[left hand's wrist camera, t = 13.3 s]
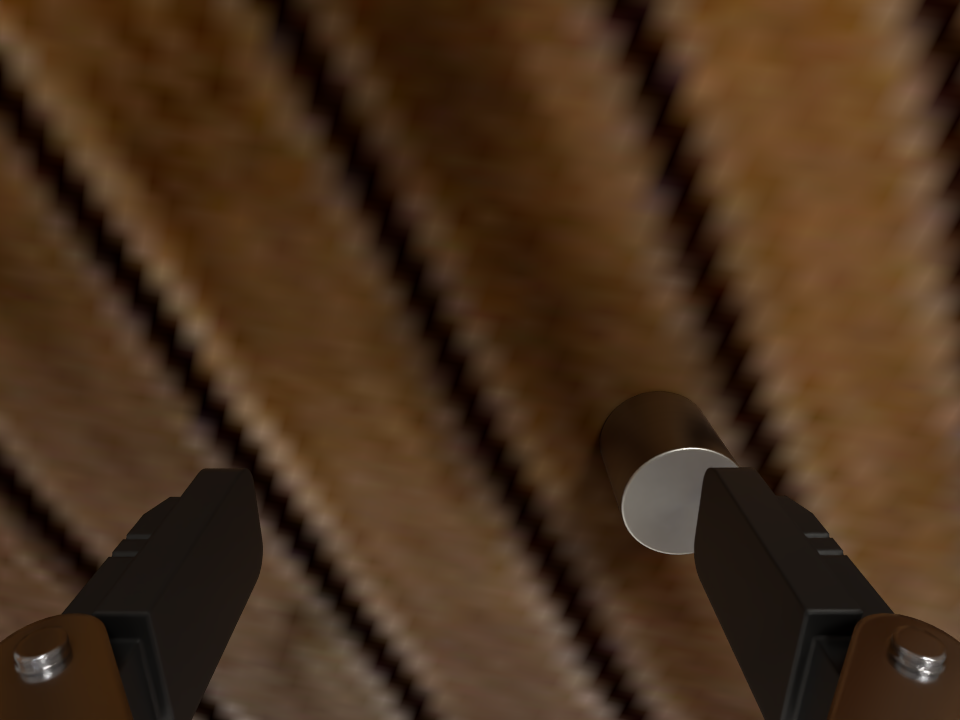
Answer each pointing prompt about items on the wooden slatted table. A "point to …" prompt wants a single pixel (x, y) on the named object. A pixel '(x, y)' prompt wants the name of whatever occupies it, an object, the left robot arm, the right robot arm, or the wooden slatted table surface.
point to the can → (660, 467)
